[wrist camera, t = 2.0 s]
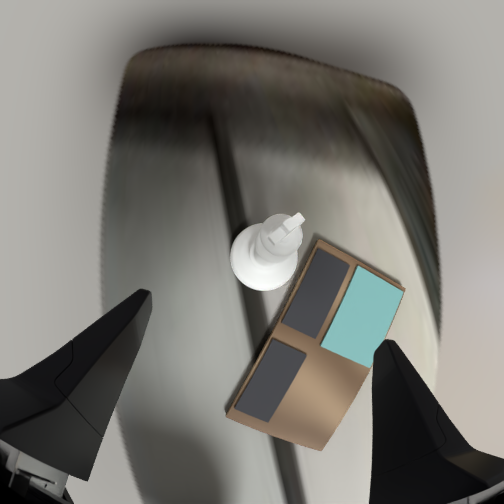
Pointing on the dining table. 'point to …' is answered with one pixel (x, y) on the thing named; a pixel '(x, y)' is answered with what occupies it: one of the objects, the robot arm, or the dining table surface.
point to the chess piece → (267, 252)
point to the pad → (362, 317)
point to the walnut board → (312, 374)
